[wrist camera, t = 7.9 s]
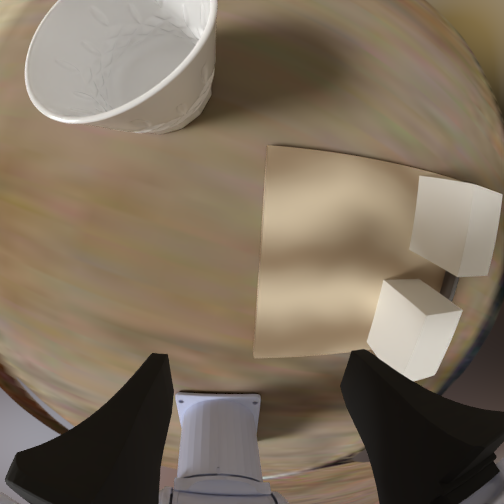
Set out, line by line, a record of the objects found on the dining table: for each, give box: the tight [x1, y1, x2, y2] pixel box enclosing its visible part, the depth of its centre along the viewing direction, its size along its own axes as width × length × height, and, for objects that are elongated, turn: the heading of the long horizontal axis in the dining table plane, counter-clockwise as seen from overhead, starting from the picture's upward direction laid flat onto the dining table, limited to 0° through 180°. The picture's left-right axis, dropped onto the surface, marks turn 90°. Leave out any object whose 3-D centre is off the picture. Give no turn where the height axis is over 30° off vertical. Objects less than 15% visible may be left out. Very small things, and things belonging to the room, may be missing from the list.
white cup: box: [25, 0, 218, 135], centre depth 11 cm, size 8×8×10 cm
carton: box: [367, 279, 463, 381], centre depth 18 cm, size 4×6×6 cm
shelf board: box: [253, 145, 476, 358], centre depth 19 cm, size 16×18×2 cm
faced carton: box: [409, 176, 503, 277], centre depth 16 cm, size 4×6×6 cm
